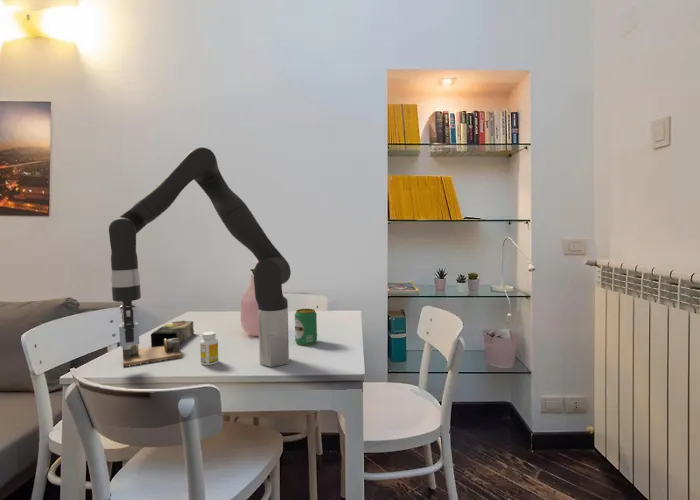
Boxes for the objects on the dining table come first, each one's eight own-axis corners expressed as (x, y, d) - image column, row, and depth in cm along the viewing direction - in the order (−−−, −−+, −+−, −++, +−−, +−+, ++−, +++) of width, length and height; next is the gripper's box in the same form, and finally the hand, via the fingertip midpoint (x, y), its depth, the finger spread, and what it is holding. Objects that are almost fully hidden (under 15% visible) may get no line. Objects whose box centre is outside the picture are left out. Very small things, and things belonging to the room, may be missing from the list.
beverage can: (290, 342, 151) (290, 310, 150) (307, 338, 156) (307, 307, 156) (304, 347, 145) (303, 313, 144) (321, 342, 151) (320, 310, 150)
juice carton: (170, 333, 166) (170, 319, 166) (195, 333, 167) (194, 318, 167) (149, 349, 146) (149, 332, 146) (178, 349, 147) (177, 332, 147)
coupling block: (139, 344, 123) (138, 324, 123) (120, 347, 121) (119, 327, 121) (138, 341, 128) (137, 321, 127) (120, 343, 125) (118, 324, 125)
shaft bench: (176, 346, 148) (176, 332, 147) (182, 357, 135) (181, 341, 135) (123, 354, 139) (122, 339, 139) (123, 367, 127) (122, 350, 127)
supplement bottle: (198, 366, 127) (197, 335, 127) (203, 360, 133) (202, 331, 132) (216, 365, 128) (215, 335, 127) (220, 359, 133) (219, 330, 132)
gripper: (141, 285, 119) (145, 343, 120) (138, 280, 131) (142, 333, 132) (111, 288, 115) (115, 347, 116) (111, 283, 128) (115, 337, 129)
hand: (129, 339), depth 124 cm, fingers closed on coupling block, 4 cm apart
